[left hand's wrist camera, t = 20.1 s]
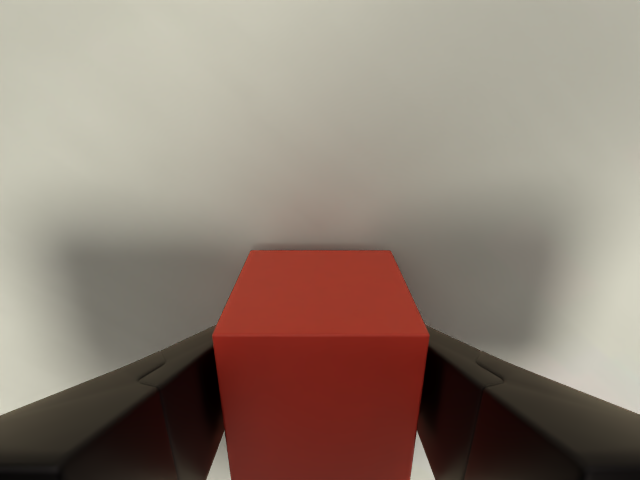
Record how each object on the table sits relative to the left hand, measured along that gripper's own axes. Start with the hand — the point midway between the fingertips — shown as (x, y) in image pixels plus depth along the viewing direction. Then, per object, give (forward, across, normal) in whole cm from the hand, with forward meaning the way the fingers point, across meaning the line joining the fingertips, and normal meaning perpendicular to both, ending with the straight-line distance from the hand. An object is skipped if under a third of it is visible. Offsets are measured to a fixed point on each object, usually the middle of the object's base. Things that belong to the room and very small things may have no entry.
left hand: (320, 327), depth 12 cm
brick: (+1, 0, 0) cm, 1 cm away
